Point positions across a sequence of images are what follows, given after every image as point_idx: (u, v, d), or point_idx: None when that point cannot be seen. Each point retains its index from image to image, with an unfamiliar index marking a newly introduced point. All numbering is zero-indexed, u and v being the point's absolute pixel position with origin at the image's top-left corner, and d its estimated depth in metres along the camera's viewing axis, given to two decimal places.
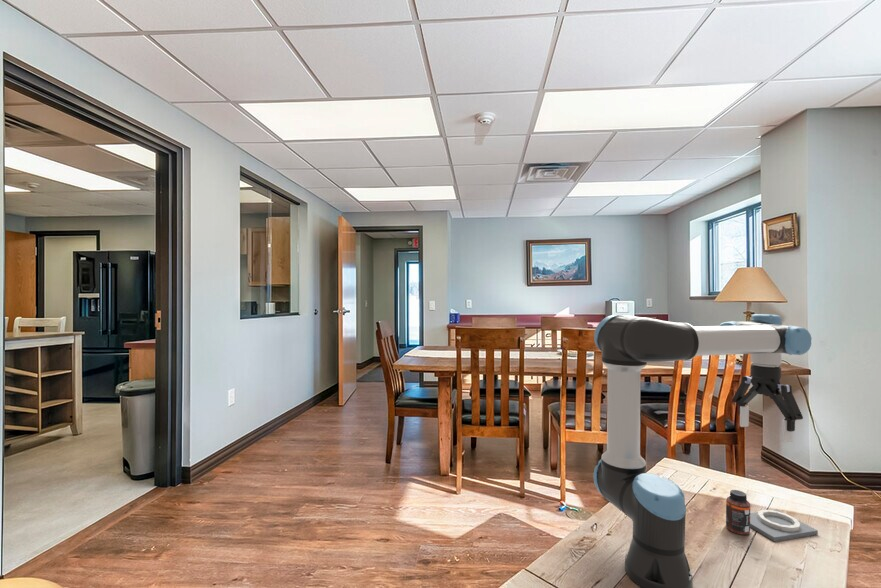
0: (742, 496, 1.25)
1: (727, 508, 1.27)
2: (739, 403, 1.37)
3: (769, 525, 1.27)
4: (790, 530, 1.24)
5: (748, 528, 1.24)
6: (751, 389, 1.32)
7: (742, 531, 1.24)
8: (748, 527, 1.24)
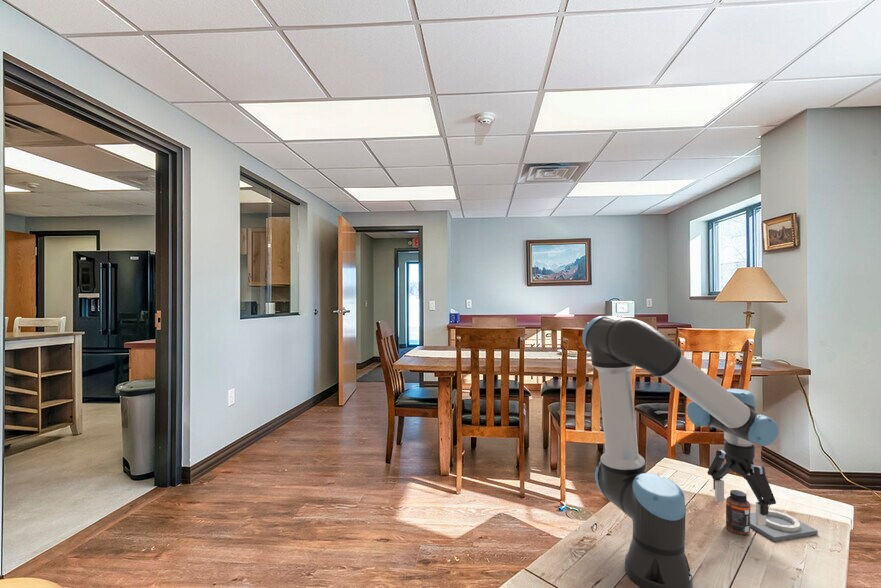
0: (742, 496, 1.25)
1: (727, 508, 1.27)
2: (714, 477, 1.34)
3: (769, 525, 1.27)
4: (790, 530, 1.24)
5: (748, 528, 1.24)
6: (725, 465, 1.29)
7: (742, 531, 1.24)
8: (748, 527, 1.24)
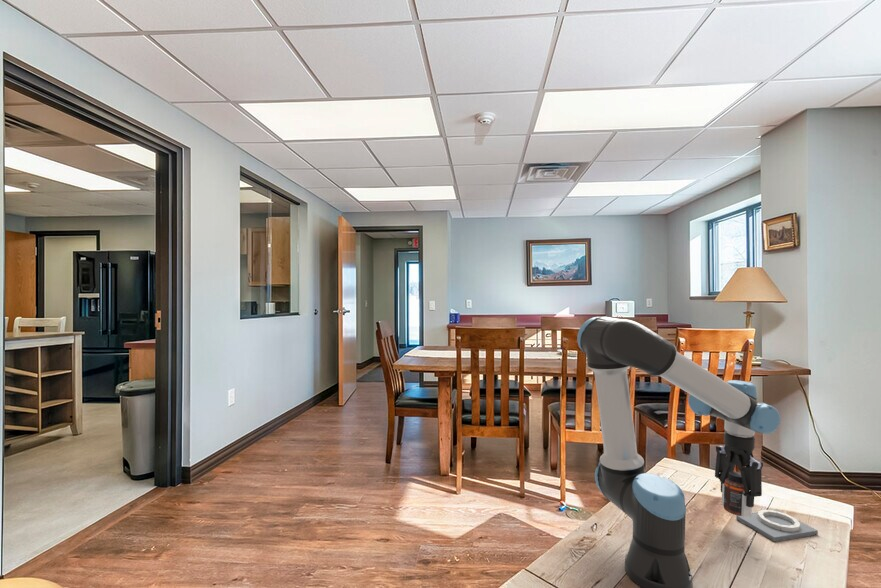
0: (741, 477, 1.25)
1: (725, 489, 1.27)
2: (721, 480, 1.30)
3: (769, 525, 1.27)
4: (790, 530, 1.24)
5: None
6: (726, 460, 1.28)
7: (740, 512, 1.24)
8: None
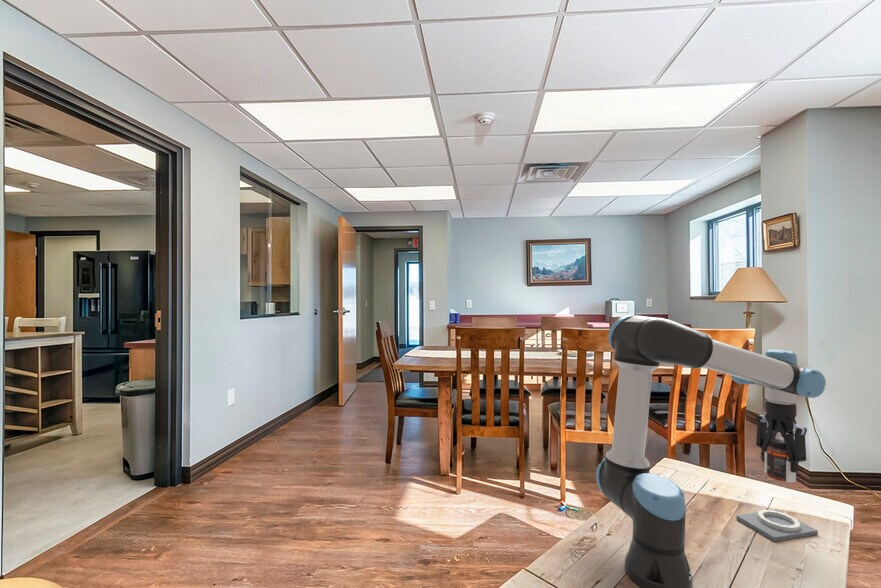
0: (784, 443, 1.27)
1: (768, 456, 1.29)
2: (763, 448, 1.32)
3: (769, 525, 1.27)
4: (790, 530, 1.24)
5: None
6: (768, 428, 1.30)
7: (784, 478, 1.26)
8: None
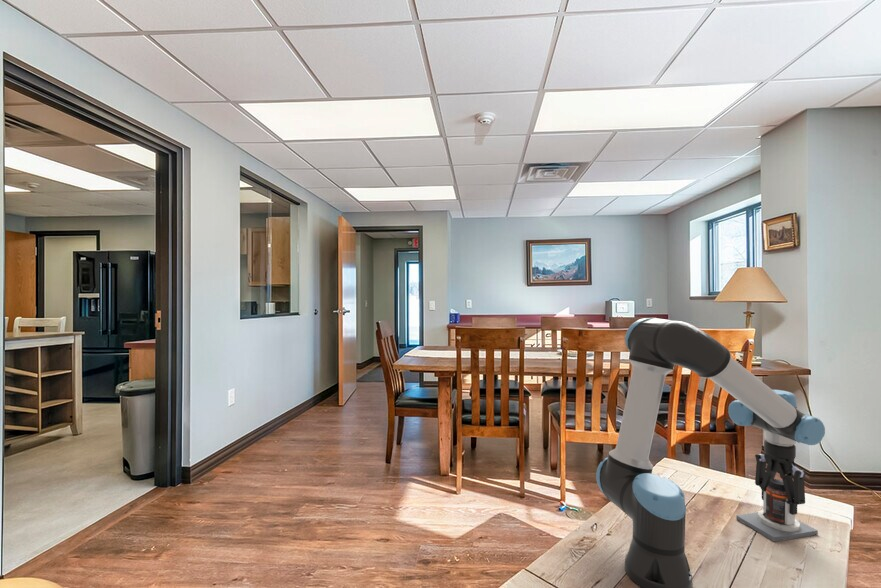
0: (783, 484, 1.27)
1: (767, 497, 1.29)
2: (762, 487, 1.32)
3: (769, 525, 1.27)
4: (790, 530, 1.24)
5: None
6: (767, 468, 1.30)
7: (783, 519, 1.26)
8: None
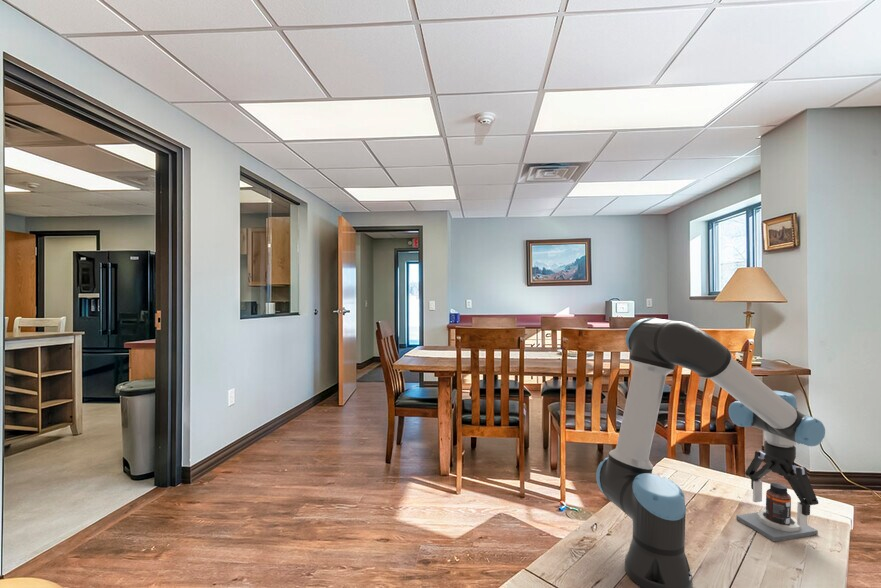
0: (783, 488, 1.27)
1: (767, 501, 1.29)
2: (752, 478, 1.36)
3: (769, 525, 1.27)
4: (790, 530, 1.24)
5: (789, 520, 1.26)
6: (765, 466, 1.31)
7: (783, 523, 1.26)
8: (789, 519, 1.26)
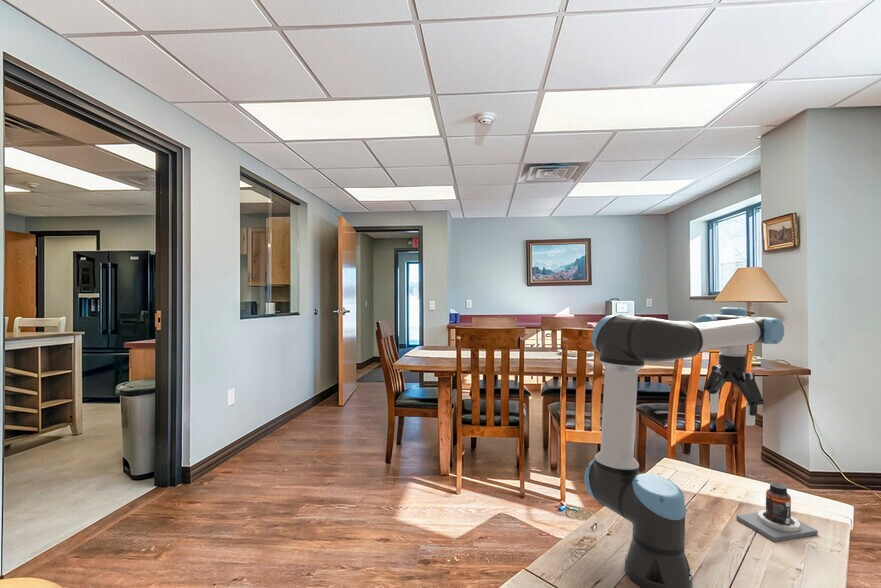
0: (783, 488, 1.27)
1: (767, 501, 1.29)
2: (710, 391, 1.47)
3: (769, 525, 1.27)
4: (790, 530, 1.24)
5: (789, 520, 1.26)
6: (720, 377, 1.42)
7: (783, 523, 1.26)
8: (789, 519, 1.26)
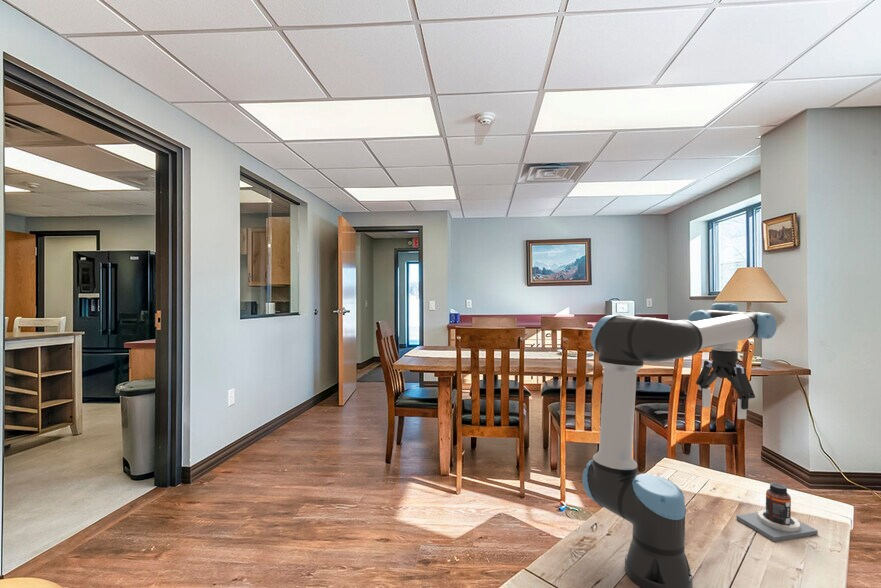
0: (783, 488, 1.27)
1: (767, 501, 1.29)
2: (702, 385, 1.49)
3: (769, 525, 1.27)
4: (790, 530, 1.24)
5: (789, 520, 1.26)
6: (711, 372, 1.44)
7: (783, 523, 1.26)
8: (789, 519, 1.26)
